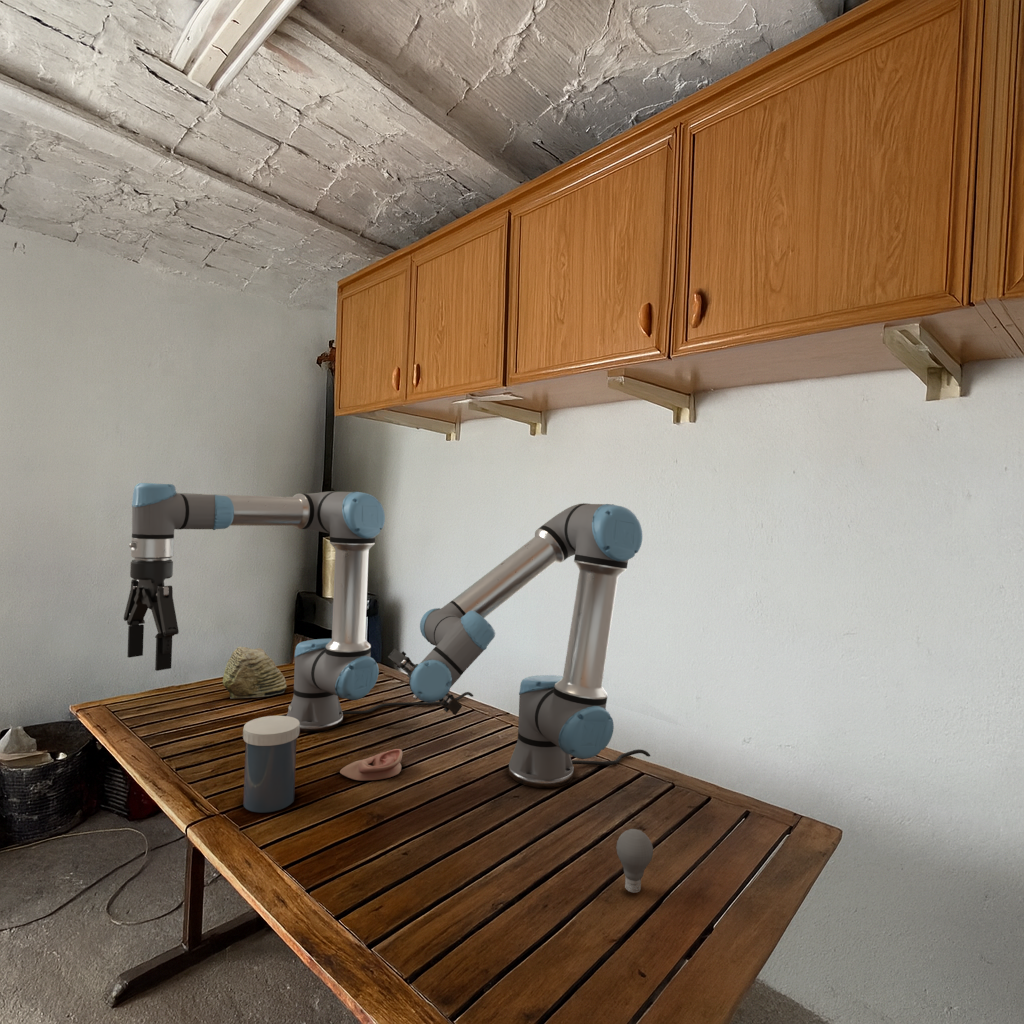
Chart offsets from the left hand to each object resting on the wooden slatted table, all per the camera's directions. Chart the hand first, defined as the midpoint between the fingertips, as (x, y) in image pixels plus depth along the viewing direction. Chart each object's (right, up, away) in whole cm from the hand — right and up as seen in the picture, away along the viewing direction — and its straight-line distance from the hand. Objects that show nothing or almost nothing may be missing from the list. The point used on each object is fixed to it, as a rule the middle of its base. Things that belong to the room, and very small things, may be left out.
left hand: (148, 662), depth 129 cm
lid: (+25, -14, +1) cm, 28 cm away
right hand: (+53, -10, +22) cm, 58 cm away
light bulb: (+94, -33, -24) cm, 103 cm away
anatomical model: (+42, -30, +18) cm, 54 cm away
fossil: (-6, -27, +69) cm, 74 cm away
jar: (+24, -29, +2) cm, 38 cm away
